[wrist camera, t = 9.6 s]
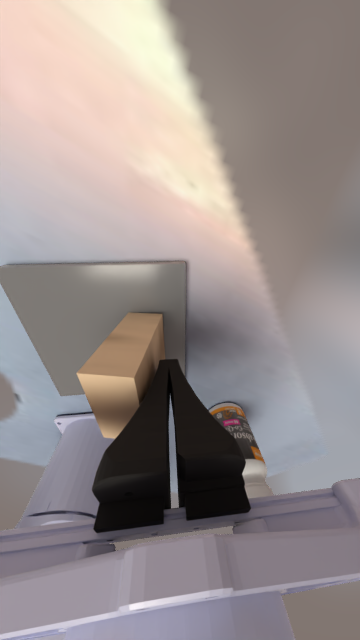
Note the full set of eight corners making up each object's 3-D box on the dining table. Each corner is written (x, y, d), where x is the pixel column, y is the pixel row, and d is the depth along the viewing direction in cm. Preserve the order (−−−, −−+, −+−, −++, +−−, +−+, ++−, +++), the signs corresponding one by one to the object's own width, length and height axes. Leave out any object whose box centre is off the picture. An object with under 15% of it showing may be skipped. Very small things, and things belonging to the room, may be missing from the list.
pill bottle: (247, 402, 24) (294, 498, 16) (232, 425, 27) (266, 518, 18) (211, 399, 23) (240, 501, 14) (199, 423, 26) (218, 522, 17)
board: (183, 378, 21) (184, 386, 20) (66, 387, 20) (60, 396, 19) (184, 261, 14) (186, 263, 13) (6, 264, 13) (-8, 267, 12)
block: (165, 366, 17) (146, 442, 11) (137, 364, 17) (103, 437, 11) (162, 313, 14) (134, 377, 8) (128, 312, 14) (76, 373, 8)
